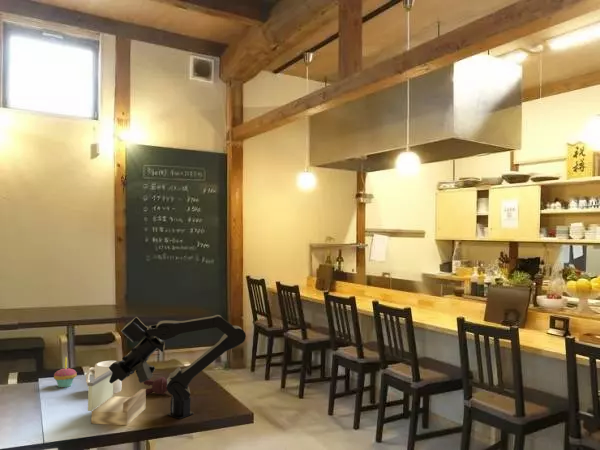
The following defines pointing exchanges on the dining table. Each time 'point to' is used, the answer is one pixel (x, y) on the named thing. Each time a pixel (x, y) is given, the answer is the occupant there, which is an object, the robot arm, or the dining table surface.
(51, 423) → the dining table surface
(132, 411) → the cream and gold block
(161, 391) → the icecream
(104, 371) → the mug
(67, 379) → the cupcake
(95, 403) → the panel
